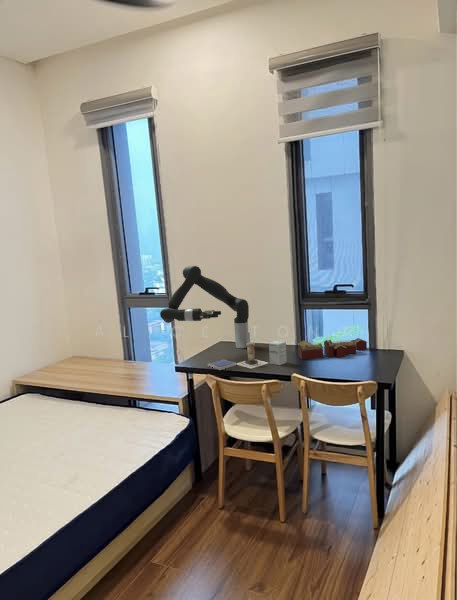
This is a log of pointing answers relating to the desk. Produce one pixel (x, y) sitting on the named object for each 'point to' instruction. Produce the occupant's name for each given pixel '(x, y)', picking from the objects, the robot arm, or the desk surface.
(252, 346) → the stamp
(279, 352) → the supplement box
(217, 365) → the ink pad
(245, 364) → the card sheet
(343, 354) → the toy houses
